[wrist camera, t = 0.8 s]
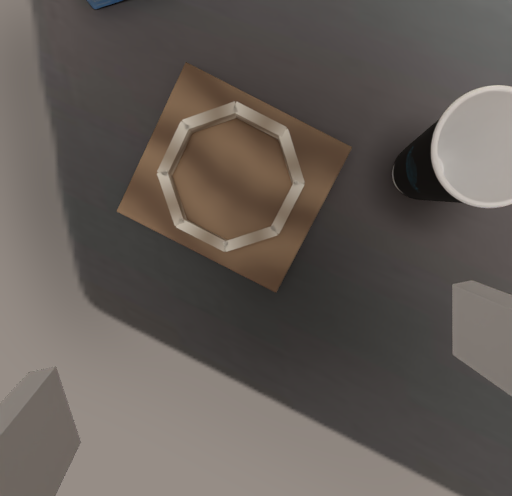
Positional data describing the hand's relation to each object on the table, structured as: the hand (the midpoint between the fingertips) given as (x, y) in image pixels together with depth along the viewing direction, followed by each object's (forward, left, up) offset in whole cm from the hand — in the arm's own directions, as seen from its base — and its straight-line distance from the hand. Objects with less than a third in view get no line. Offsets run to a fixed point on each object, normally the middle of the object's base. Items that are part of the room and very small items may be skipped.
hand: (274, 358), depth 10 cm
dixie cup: (-15, +9, -23) cm, 29 cm away
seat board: (-6, -7, -23) cm, 25 cm away
